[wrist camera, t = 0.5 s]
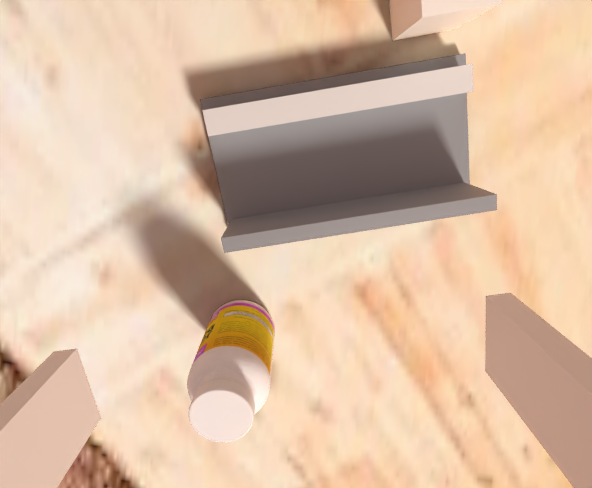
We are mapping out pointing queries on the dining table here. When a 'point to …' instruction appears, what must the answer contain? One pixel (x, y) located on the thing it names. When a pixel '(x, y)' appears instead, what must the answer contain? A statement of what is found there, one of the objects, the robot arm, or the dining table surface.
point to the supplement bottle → (231, 371)
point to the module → (433, 15)
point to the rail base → (344, 153)
